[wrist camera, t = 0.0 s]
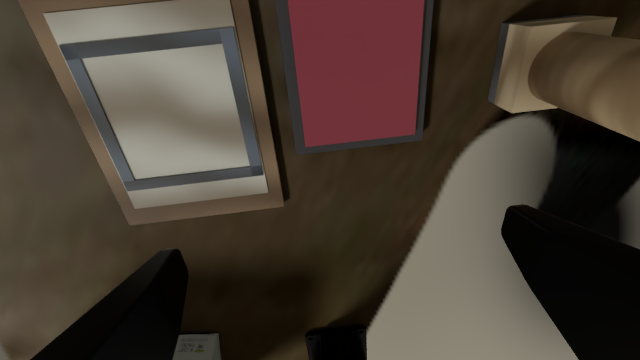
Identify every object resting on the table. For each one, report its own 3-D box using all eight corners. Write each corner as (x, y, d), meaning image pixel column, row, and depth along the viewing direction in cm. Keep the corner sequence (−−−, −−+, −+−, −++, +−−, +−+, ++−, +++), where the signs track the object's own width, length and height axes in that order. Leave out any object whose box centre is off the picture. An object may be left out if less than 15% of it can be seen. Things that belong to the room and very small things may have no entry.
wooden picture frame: (284, 202, 26) (284, 207, 25) (132, 220, 25) (128, 227, 24) (242, -39, 17) (240, -40, 17) (17, -17, 17) (6, -18, 16)
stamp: (555, 92, 23) (793, 180, 12) (487, 100, 23) (668, 195, 12) (578, 15, 20) (905, 37, 10) (502, 22, 20) (746, 55, 9)
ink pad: (417, 134, 24) (424, 142, 22) (296, 149, 23) (296, 157, 22) (430, -47, 18) (440, -50, 17) (271, -31, 18) (270, -33, 16)
